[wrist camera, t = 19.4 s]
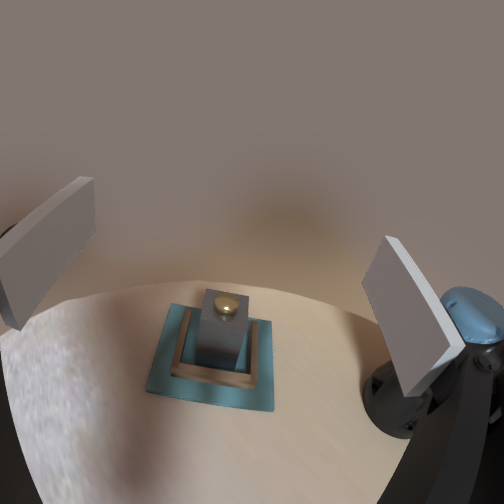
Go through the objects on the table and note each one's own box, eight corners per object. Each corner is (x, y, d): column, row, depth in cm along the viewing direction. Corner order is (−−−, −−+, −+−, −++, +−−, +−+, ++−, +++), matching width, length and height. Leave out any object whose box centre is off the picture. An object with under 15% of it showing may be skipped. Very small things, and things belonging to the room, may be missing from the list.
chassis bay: (270, 324, 53) (274, 311, 52) (272, 411, 38) (279, 401, 36) (171, 306, 52) (172, 292, 50) (146, 391, 36) (144, 379, 35)
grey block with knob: (236, 341, 47) (250, 289, 41) (234, 371, 42) (249, 320, 36) (199, 335, 47) (207, 282, 41) (194, 364, 42) (201, 312, 36)
